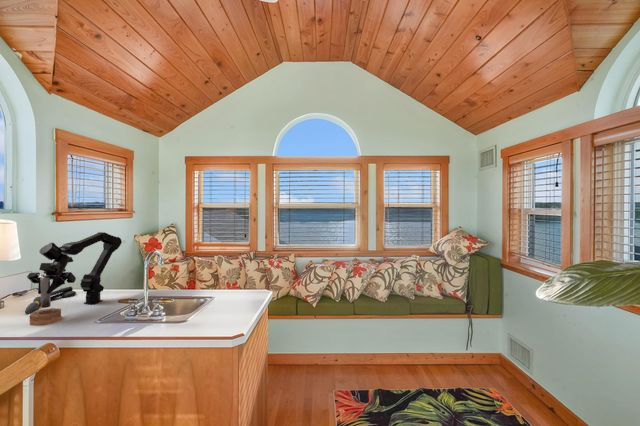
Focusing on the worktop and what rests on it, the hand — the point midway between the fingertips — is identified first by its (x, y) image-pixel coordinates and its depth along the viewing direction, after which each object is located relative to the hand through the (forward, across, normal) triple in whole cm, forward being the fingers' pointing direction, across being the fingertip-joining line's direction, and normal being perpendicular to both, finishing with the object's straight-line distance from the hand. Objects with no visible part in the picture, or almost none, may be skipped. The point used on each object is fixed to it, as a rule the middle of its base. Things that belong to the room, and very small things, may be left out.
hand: (43, 293), depth 153 cm
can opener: (-17, -18, +36) cm, 44 cm away
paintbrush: (-5, -17, +24) cm, 30 cm away
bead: (+8, 0, +10) cm, 13 cm away
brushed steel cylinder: (+4, 0, +6) cm, 7 cm away
